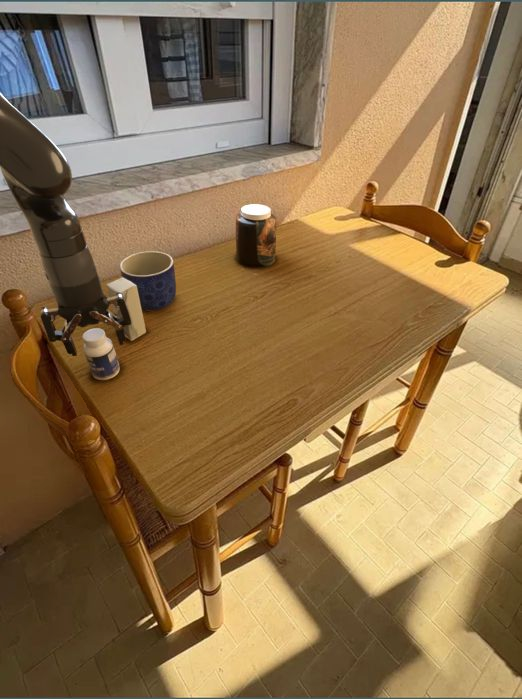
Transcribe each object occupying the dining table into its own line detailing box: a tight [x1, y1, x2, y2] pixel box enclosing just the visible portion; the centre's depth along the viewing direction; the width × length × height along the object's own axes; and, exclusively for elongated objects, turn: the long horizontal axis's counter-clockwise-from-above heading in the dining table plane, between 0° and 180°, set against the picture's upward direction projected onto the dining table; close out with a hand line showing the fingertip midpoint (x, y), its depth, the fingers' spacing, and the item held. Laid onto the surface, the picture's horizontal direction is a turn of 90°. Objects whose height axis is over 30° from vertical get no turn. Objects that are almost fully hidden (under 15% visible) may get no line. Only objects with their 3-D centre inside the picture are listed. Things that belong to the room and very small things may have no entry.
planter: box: [119, 250, 177, 312], centre depth 94 cm, size 12×12×11 cm
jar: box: [235, 203, 277, 269], centre depth 111 cm, size 12×12×15 cm
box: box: [106, 276, 147, 342], centre depth 83 cm, size 5×4×13 cm
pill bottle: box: [82, 327, 121, 381], centre depth 74 cm, size 5×5×10 cm
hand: (98, 347), depth 73 cm, fingers open, 8 cm apart
